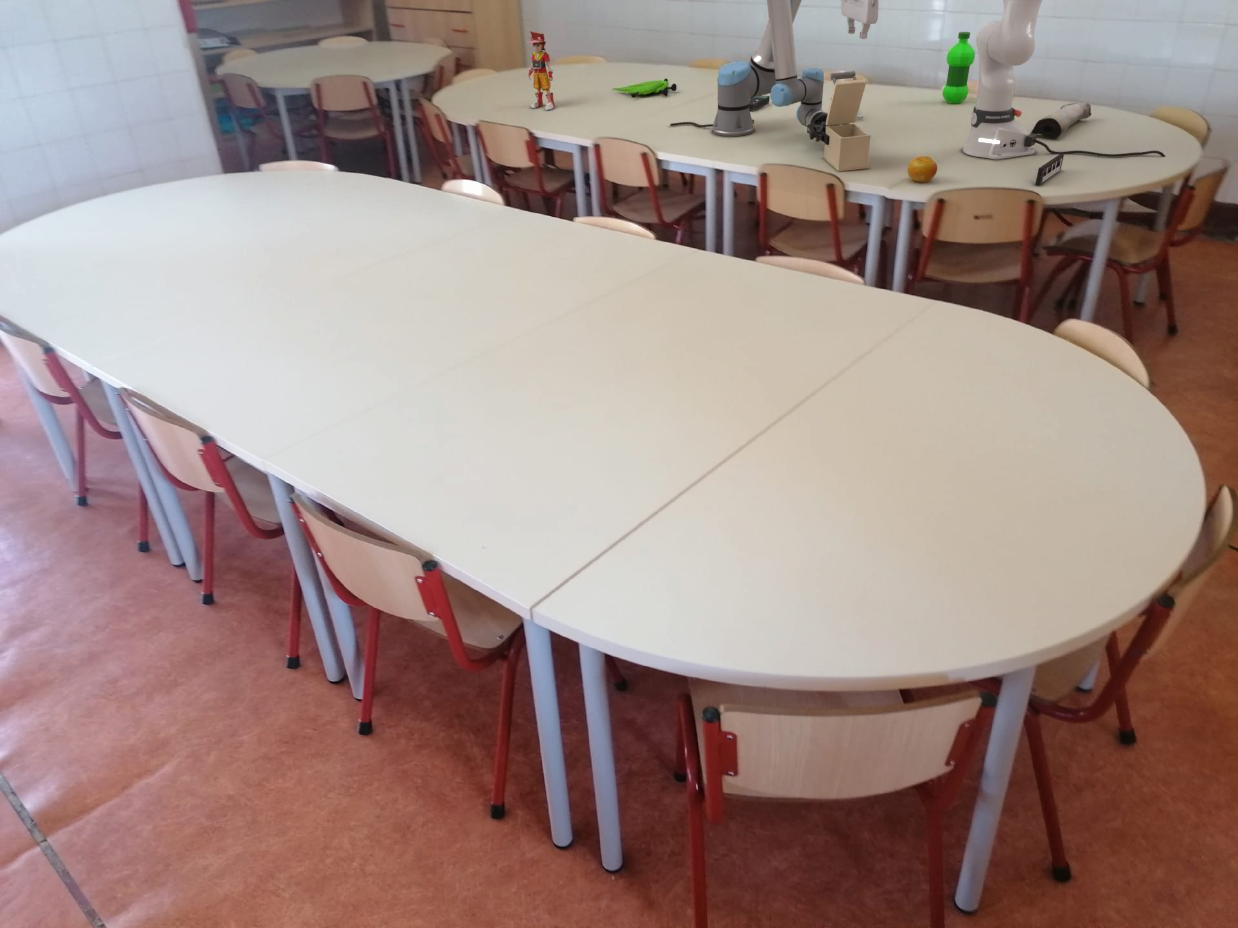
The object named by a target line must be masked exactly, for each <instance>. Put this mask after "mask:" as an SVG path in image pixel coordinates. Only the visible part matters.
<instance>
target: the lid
mask: <svg viewBox="0 0 1238 928" xmlns="http://www.w3.org/2000/svg"><path fill="white" fill-rule="evenodd" d="M856 76H857V75H856V71H855V70H852V71H851V70H850V71H842V72H832V73H830V81H832V82H833V85H834V86H833V90H832V95H831V97H832V99H831V98H830V103H829V107H828V111H827V114H828V115H827V119H826V125H837V124H846V123H849V124H856V122H857V119H858V118H857V114H859V111H860V106H861V103H862V99H863V96H864V92H865V89H866V85H867V79H865V78H864V79H857V77H856ZM846 79H853V80H846ZM838 80H843V81H838ZM844 80H845V81H844ZM856 118H857V119H856Z"/></svg>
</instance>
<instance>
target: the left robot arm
mask: <svg viewBox="0 0 1238 928" xmlns="http://www.w3.org/2000/svg"><path fill="white" fill-rule="evenodd" d="M802 1H803V0H766V5H767V6H766V7H767V14H768V20H767V23H766V26H765V30H764V32H763V35H762V38H761V40H760V44H759V46H758V48H757V50H755V51H753V52H752V54H751V57H750V60H749V62H748V61H744V60H738V61H732V62H728V63H726V64H723V65H722V66H720V68H718V73H717V74H718V75H717V111H716V114H715V118H714V120H713V123H710V124H709V123H707V124H699V123H696V122H693V121H683V122H682V121H679V122H673V123H670V124H669V126H670V127H675V126H681V125H682V126H683V125H692V126H695V127H698V128H711V127H712V133H713V134H715V135H717V136H721V137H741V136H746V135H750V134H752V133H754V127H755V126H754V124H755V119H753V118H752V115H751V110H749V98H753V97H757V96H767V95H769V96H770V101H771V103H772V104H773V105H774V106H775V107H778V108H783V107H788V106H790V105H795V104H797V103H800V104H799V106H798V108H797V109H796V120H798V122H799V123H800V124H801V125H802V126H804V127H806V133H807V134H808V136H809V139H810V140H814V139H815V142H816V143H819V142H820V141H821V142H822V143H824V145H825V144H826V145H829V138H830V136H829V135H827V134H826V126H836V125H826V119H827V115H828V112H826V111H825V110H822V107H823V97H824V96H823V94H824V85H825V72H824V70H823V69H821V68H815V67H813V68H805V69H804V70H803V71H802V74H801V77H800V78H798V69H797V58H796V48H795V38H794V29H793V28H794V26H793V24H794V22H795V19H796V17H797V14H798V11H799V9H800V6H801V3H802ZM846 124H850V123H846ZM846 124H837V125H846Z"/></svg>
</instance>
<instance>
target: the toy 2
mask: <svg viewBox="0 0 1238 928" xmlns="http://www.w3.org/2000/svg"><path fill="white" fill-rule="evenodd" d="M669 85H670V83H669V79H668V78H664V79H663V80H649V81H644V82H640V83H634V84H629V85H627V86H621V87H613V88H612V89H613V90H616V91H619V92H623V93H627V94H628V93H629V94H631V95H630V96H631V98H632V99H634V98H636V96H637V95H650V94H652V93H654V94H658V93H662V95H663V96H665V97H667V96H668V95H669V90H671V91H672V92H676V91H677V84H676V83H672V84H671V86H669Z"/></svg>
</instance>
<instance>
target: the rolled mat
mask: <svg viewBox="0 0 1238 928" xmlns="http://www.w3.org/2000/svg"><path fill="white" fill-rule="evenodd" d="M1091 116H1092V105H1091V104H1090V103H1089V102H1082V101H1080V102H1079V101H1078V102H1073V103H1072V102H1071V103H1065V104H1063V105H1061V106H1060V108H1059V109H1058V110H1056V111H1053V112H1052V113H1050V114H1048V115H1046V116H1044V117H1042V118H1040V119H1039V120H1037V121H1036V123H1035V125H1034V126H1033V128H1032V130H1031V132H1030V133H1029V135H1030V134H1037V135H1041V136H1042V137H1043V138H1046V139H1051V140H1055V139H1056V140H1057V139H1058V138H1059V137H1060V136H1061V135H1063V134H1064V133H1065V132H1066V131H1067V129H1068V128H1070V127H1071V126H1073V124H1075V123H1076V122H1077V121H1079V120H1084V119H1085V120H1086V119H1087V118H1090V117H1091Z"/></svg>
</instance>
